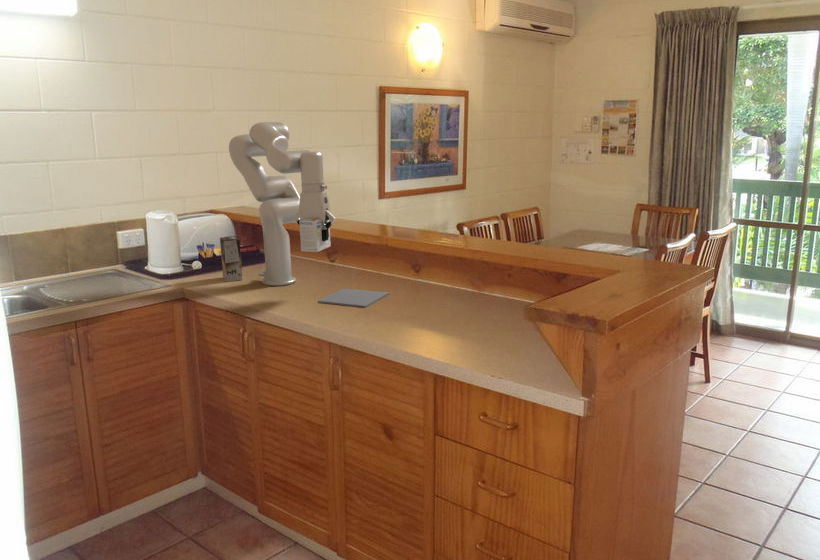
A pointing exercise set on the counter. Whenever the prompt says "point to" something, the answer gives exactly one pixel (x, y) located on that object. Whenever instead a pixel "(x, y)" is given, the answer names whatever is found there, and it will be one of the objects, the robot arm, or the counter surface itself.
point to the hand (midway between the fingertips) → (315, 239)
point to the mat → (353, 297)
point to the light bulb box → (312, 235)
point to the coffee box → (231, 258)
